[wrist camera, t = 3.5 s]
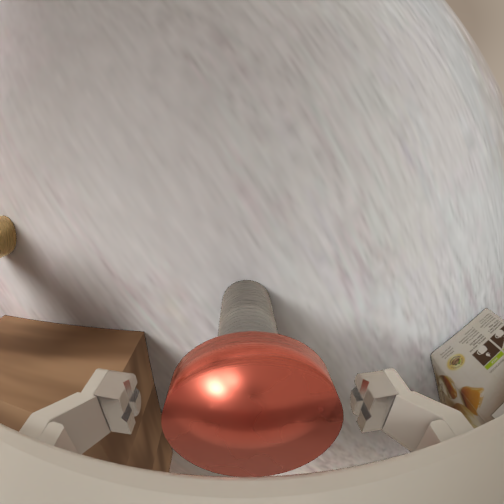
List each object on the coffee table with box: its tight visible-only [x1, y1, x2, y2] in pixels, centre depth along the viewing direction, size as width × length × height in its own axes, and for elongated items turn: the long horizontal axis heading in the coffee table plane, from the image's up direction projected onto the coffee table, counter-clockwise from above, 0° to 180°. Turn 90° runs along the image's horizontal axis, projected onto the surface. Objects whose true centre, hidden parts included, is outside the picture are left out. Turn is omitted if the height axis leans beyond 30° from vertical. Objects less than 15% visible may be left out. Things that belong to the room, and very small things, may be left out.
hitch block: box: [0, 315, 173, 472], centre depth 14 cm, size 12×12×8 cm
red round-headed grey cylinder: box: [161, 280, 343, 477], centre depth 12 cm, size 5×5×9 cm
